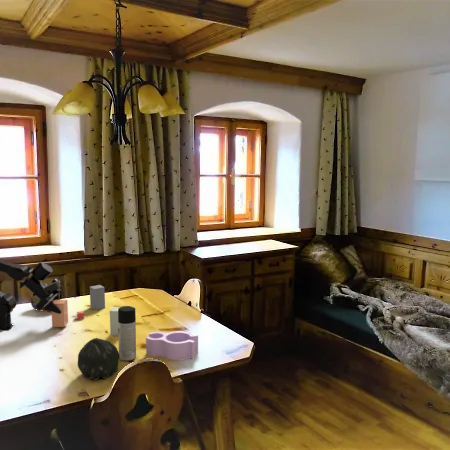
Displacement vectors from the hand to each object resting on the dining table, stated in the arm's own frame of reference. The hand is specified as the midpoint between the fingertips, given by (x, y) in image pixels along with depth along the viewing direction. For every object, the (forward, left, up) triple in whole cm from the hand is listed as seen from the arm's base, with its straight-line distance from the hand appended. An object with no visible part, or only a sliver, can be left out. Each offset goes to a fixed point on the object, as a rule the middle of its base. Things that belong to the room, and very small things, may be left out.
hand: (62, 310), depth 212 cm
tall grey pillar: (+26, -12, -8) cm, 30 cm away
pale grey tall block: (-10, -26, -8) cm, 29 cm away
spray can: (-36, -32, -8) cm, 48 cm away
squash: (-49, -23, -8) cm, 54 cm away
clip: (-33, -49, -8) cm, 60 cm away
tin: (+25, +14, -8) cm, 30 cm away
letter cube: (+11, -6, -8) cm, 15 cm away
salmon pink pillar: (0, +1, -7) cm, 7 cm away
